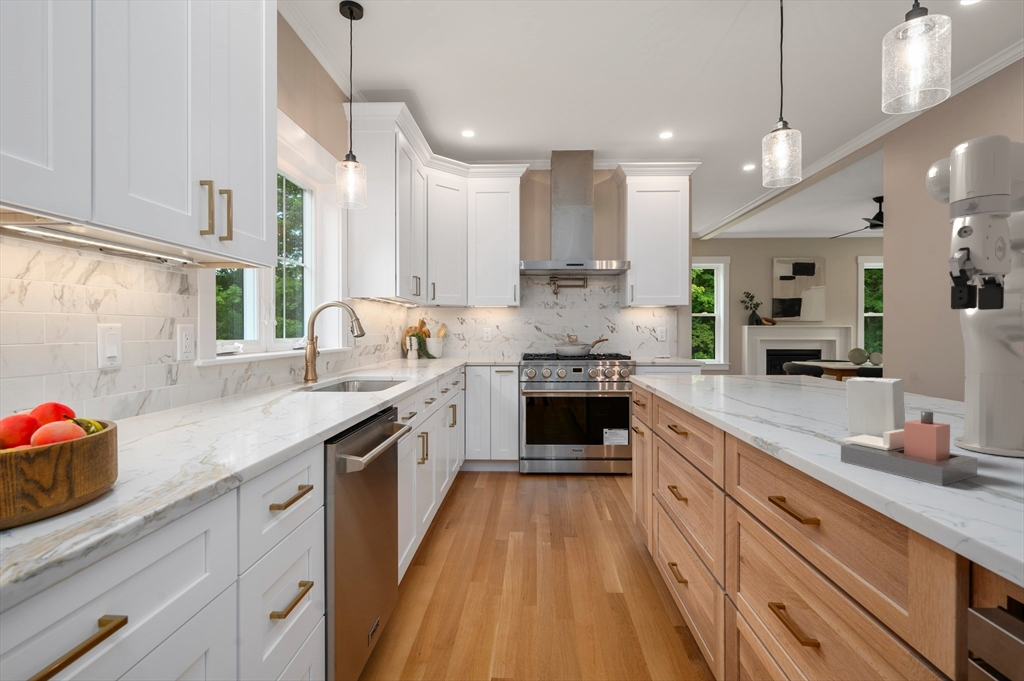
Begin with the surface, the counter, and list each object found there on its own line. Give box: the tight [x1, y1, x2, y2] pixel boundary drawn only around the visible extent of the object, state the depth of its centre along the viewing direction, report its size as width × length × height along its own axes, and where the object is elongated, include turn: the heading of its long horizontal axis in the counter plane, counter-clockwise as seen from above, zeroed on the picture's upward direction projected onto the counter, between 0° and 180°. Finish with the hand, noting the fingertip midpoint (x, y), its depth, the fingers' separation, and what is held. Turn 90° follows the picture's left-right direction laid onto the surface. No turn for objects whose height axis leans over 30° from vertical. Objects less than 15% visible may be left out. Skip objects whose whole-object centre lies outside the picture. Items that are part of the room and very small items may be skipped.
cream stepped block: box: [841, 429, 904, 450], centre depth 87 cm, size 8×8×3 cm
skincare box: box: [845, 376, 906, 444], centre depth 93 cm, size 8×6×15 cm
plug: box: [904, 410, 951, 461], centre depth 80 cm, size 4×4×10 cm
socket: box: [840, 443, 978, 487], centre depth 82 cm, size 12×15×3 cm
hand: (977, 309), depth 80 cm, fingers open, 9 cm apart
